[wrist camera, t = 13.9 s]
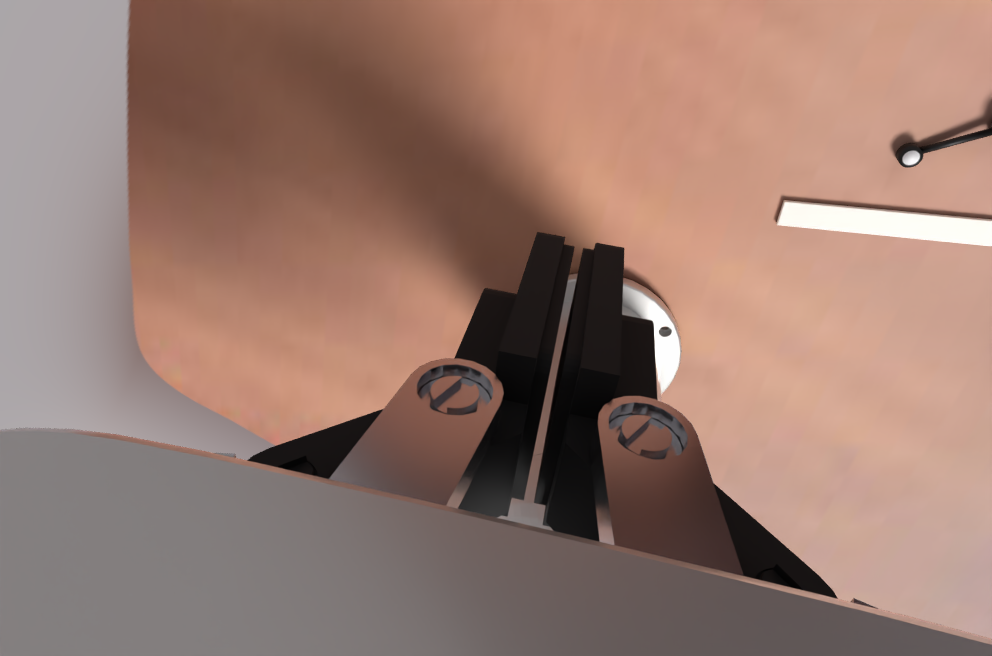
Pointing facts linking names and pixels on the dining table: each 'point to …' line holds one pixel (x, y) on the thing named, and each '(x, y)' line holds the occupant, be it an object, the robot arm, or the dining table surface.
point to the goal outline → (886, 222)
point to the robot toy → (933, 147)
